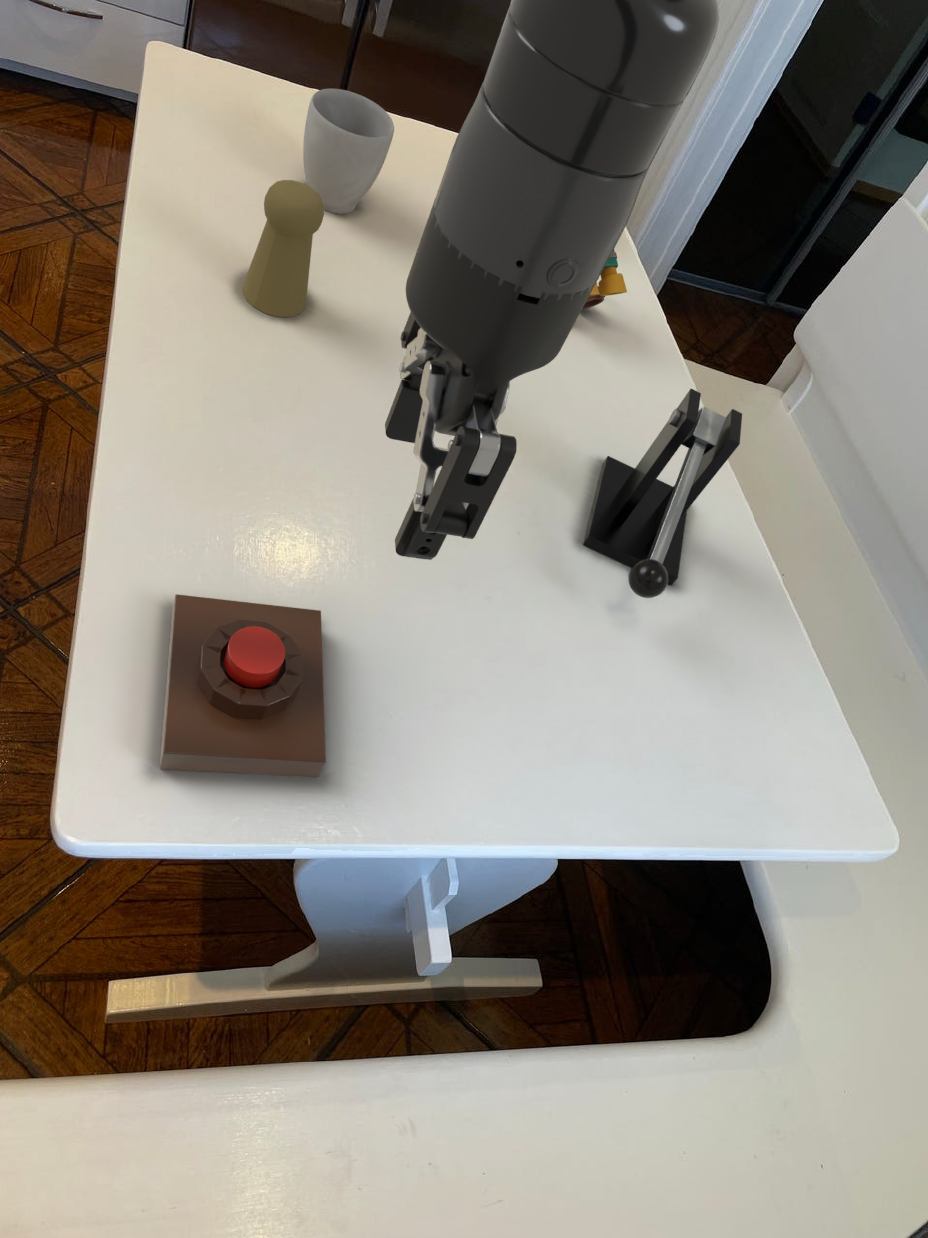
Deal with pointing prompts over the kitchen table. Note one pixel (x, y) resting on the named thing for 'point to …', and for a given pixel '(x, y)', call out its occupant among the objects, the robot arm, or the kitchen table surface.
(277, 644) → the red button
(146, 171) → the kitchen table surface
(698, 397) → the bracket
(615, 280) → the binoculars
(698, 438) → the lever
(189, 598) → the button block
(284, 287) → the olive game pawn
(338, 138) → the mug
